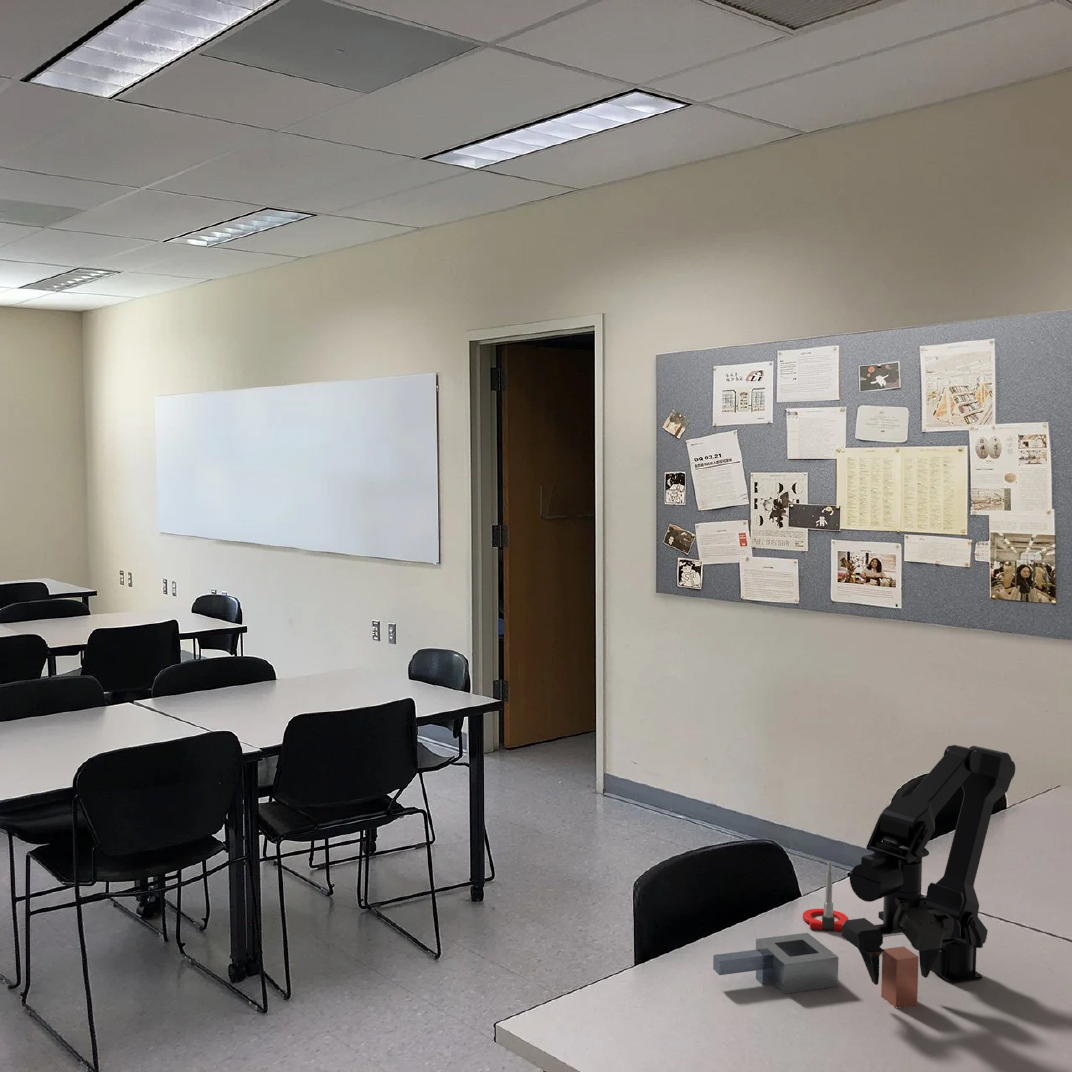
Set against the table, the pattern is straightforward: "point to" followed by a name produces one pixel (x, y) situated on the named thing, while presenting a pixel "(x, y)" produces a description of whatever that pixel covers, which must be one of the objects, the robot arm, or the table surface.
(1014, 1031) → the table surface
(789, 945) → the square frame with handle
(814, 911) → the tow hook
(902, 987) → the square peg
